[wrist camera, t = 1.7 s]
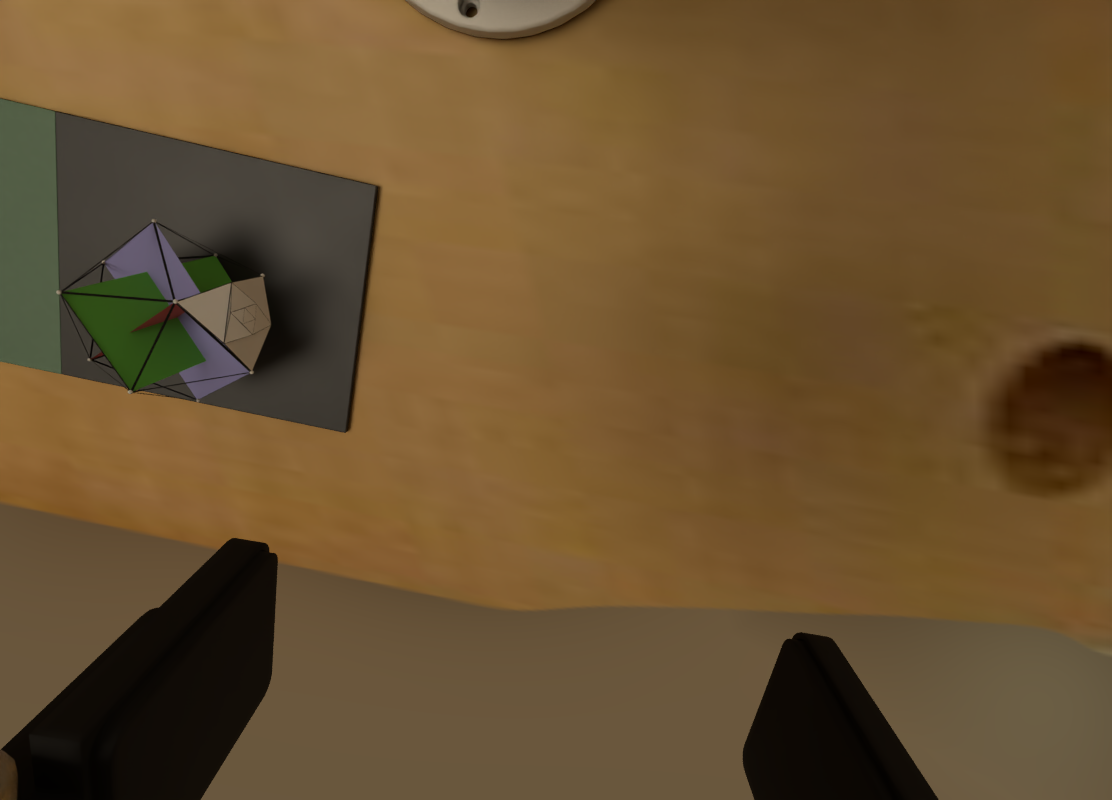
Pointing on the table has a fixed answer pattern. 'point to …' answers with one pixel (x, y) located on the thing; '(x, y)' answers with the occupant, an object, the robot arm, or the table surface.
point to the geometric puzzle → (172, 316)
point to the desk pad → (183, 252)
